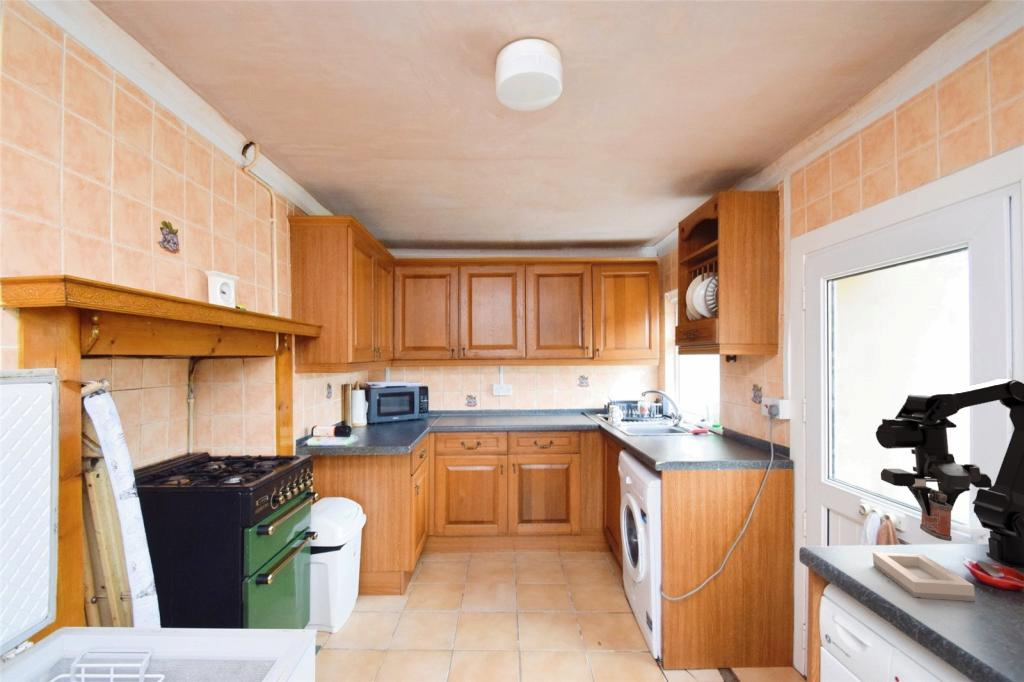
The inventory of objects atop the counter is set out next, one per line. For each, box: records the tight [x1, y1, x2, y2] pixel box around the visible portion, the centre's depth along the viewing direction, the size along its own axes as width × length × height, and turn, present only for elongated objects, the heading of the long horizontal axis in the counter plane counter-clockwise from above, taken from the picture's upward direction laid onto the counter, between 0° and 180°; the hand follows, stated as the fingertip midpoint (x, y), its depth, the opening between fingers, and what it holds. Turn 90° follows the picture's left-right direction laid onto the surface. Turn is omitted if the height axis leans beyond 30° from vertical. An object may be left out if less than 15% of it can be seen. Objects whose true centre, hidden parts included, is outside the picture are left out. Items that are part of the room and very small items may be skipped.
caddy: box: [872, 551, 976, 602], centre depth 94 cm, size 10×14×3 cm
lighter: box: [919, 487, 954, 542], centre depth 102 cm, size 8×3×10 cm, turn 164°
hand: (936, 515), depth 102 cm, fingers closed on lighter, 3 cm apart
